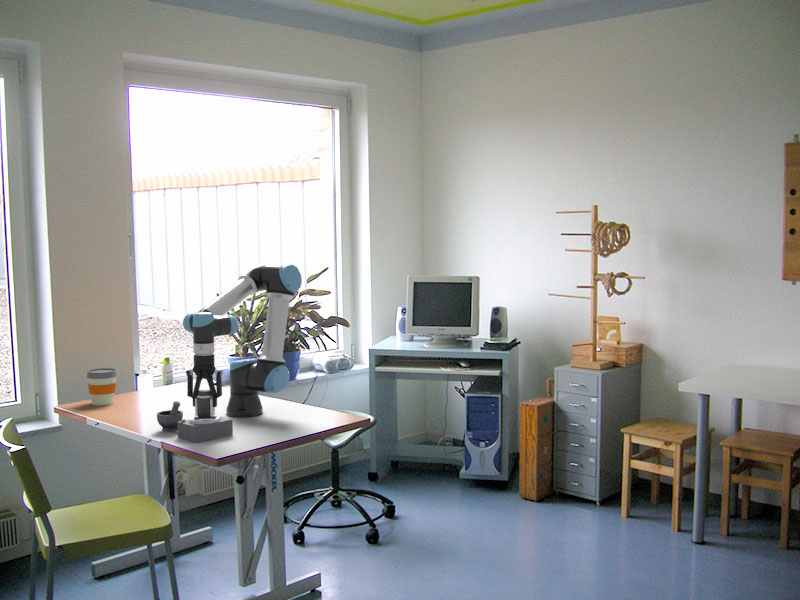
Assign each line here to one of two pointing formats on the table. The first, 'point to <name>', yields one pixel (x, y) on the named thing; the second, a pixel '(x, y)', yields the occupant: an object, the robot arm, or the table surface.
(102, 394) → the reusable coffee cup
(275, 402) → the table surface
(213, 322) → the robot arm
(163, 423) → the mortar and pestle
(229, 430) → the dark grey box
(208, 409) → the lens
